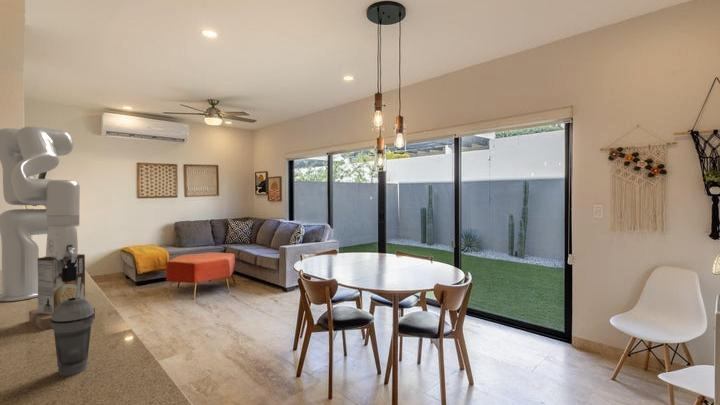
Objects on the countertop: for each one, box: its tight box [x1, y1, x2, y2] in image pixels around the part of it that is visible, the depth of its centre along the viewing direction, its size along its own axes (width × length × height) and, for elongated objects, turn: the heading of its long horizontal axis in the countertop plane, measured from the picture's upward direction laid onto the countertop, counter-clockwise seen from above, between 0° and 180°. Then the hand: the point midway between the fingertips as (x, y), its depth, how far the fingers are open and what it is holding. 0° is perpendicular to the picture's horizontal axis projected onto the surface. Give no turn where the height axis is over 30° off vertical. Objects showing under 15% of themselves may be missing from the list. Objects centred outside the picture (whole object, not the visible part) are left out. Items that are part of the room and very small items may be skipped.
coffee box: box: [37, 253, 86, 315], centre depth 104 cm, size 9×6×16 cm
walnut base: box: [28, 307, 96, 331], centre depth 104 cm, size 12×12×3 cm
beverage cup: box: [51, 277, 96, 377], centre depth 74 cm, size 7×7×20 cm
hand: (62, 278), depth 104 cm, fingers open, 9 cm apart
